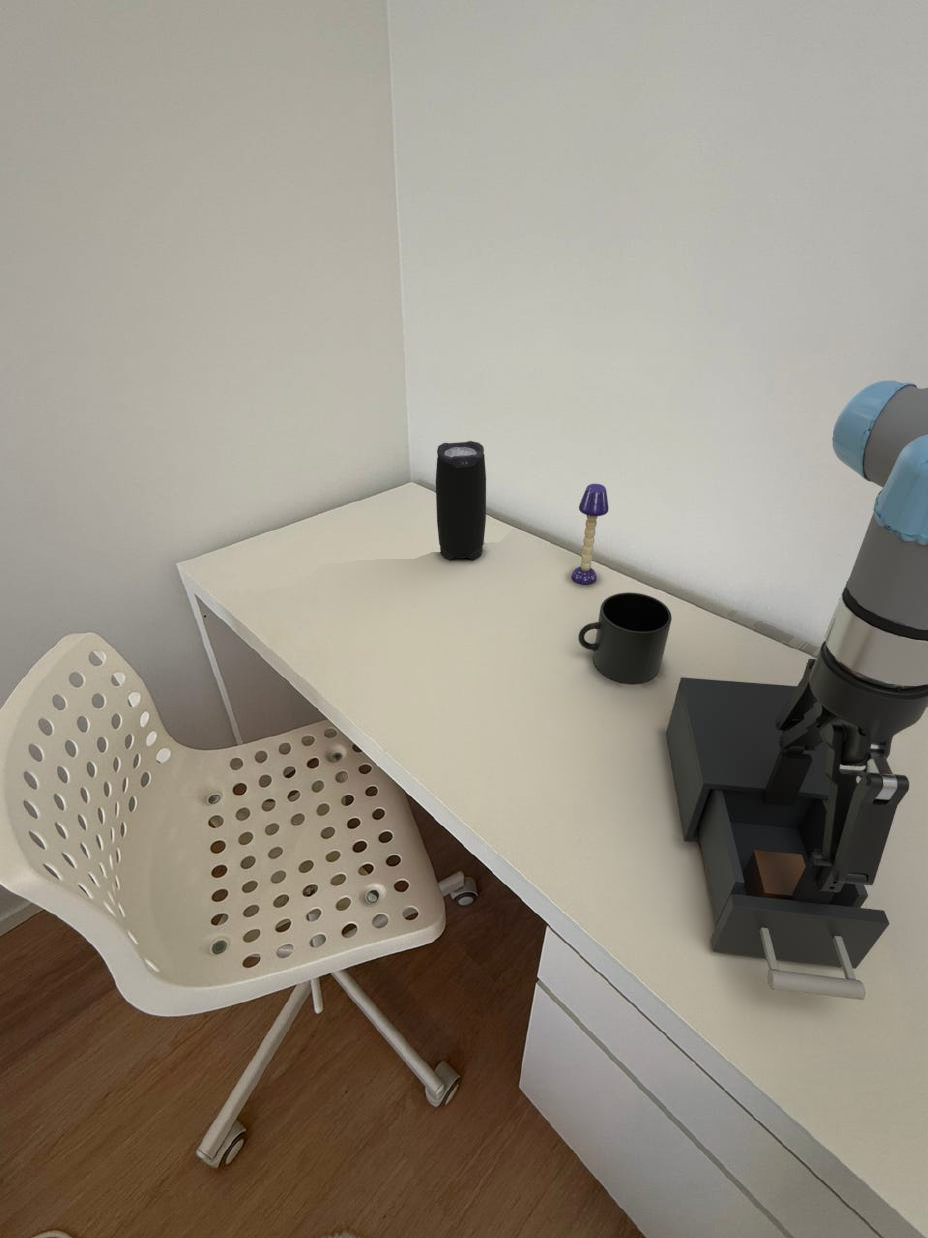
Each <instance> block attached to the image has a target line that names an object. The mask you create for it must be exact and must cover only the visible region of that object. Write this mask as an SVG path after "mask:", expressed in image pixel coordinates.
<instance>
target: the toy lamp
mask: <svg viewBox="0 0 928 1238" xmlns="http://www.w3.org/2000/svg"><path fill="white" fill-rule="evenodd" d="M578 510H579V512H580V513H581V514H582V515H585V516H586V520H585V528H584V532H583V533H584V537H583V540H582V541H583V545H582V550H581V551H582V553H581V563H580V566H577V567H576V568H575V569H573V571H572V574H571V580H572V581H573V582H575V583H577V584H580V585H592V584H594V583H595V582H597V578H598V576H597V573H596V571H595V569H593V568H592V560H593V552H594V543H595V535H596V528H597V525H598V523H597V520H598V517H601V516H605V515H606V514H608V513H609V500H608V491H607V488H606V486H605V485H603V484H600V483H590V484H588V485H587V486H586V488H585V490H584V492H583V495H582V497H581V500H580V502H579V505H578Z"/></svg>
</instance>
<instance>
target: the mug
mask: <svg viewBox="0 0 928 1238" xmlns="http://www.w3.org/2000/svg"><path fill="white" fill-rule="evenodd" d="M672 619H673V618H672V612H671V611H670V609H669V608H668V606H667V605H666V604H665V603H664V602H662V601H661V600H659V599H657V598H655V597H654V596H651V595H648V594H645V593H641V592H630V591H629V592H628V591H627V592H619V593H615V594H612V595H610V596H608V597H607V598H606V599H604V600H603V601H602V603H601V604H600V607H599V614H598V621H595V622H590V623H588V624H586V625H584V626H583V627H582V628H581V629H580V630H579V633H578V636H577V637H578V638H577V639H578V643H579V645H580V646H581V647H582V648H584V649H585V650H590V651H592V652H593V654H592V659H593V663H594V666H595V667H596V669H597V670H598V671H599V672H600V673H601V674H602V675H603V676H605V677H606V678H609V679H610V680H612V681H615V682H619V683H622V684H633V685H634V684H636V685H637V684H642V683H643V684H644V683H646V682H649V681H651V680H652V679H654V678H655V677H656V676H657V675H658V674H659V672H660V671H661V667H662V663H663V658H664V653H665V650H666V646H667V642H668V641H667V640H668V637H669V633H670V628H671V623H672ZM591 630H596V634H595V641H594V642H592V643H590V642H588V641H587V640H586V639H585V635H586V634H587V632H589V631H591Z"/></svg>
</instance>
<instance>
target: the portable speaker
mask: <svg viewBox="0 0 928 1238" xmlns="http://www.w3.org/2000/svg"><path fill="white" fill-rule="evenodd" d="M436 454H437V458H436V468H435V501H436V502H435V505H436V524H437V525H436V526H437V535H438V545H439V552H440V555H441V556H442V557H443V558H444V559H446V560H448V561H451V560H452V559H454V558H455V559H456V558H457V559H468V560H469V561H475V560H477V559H479V558H480V557H481V556H482V554H483V549H484V547H483V546H484V544H485V532H486V523H487V470H486V457H485V448H484V445H482V443H480V442H478V441H473V440H468V441H462V442H460V441H459V442H443V443H441V444H439V445H438V446H437V449H436Z"/></svg>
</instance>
